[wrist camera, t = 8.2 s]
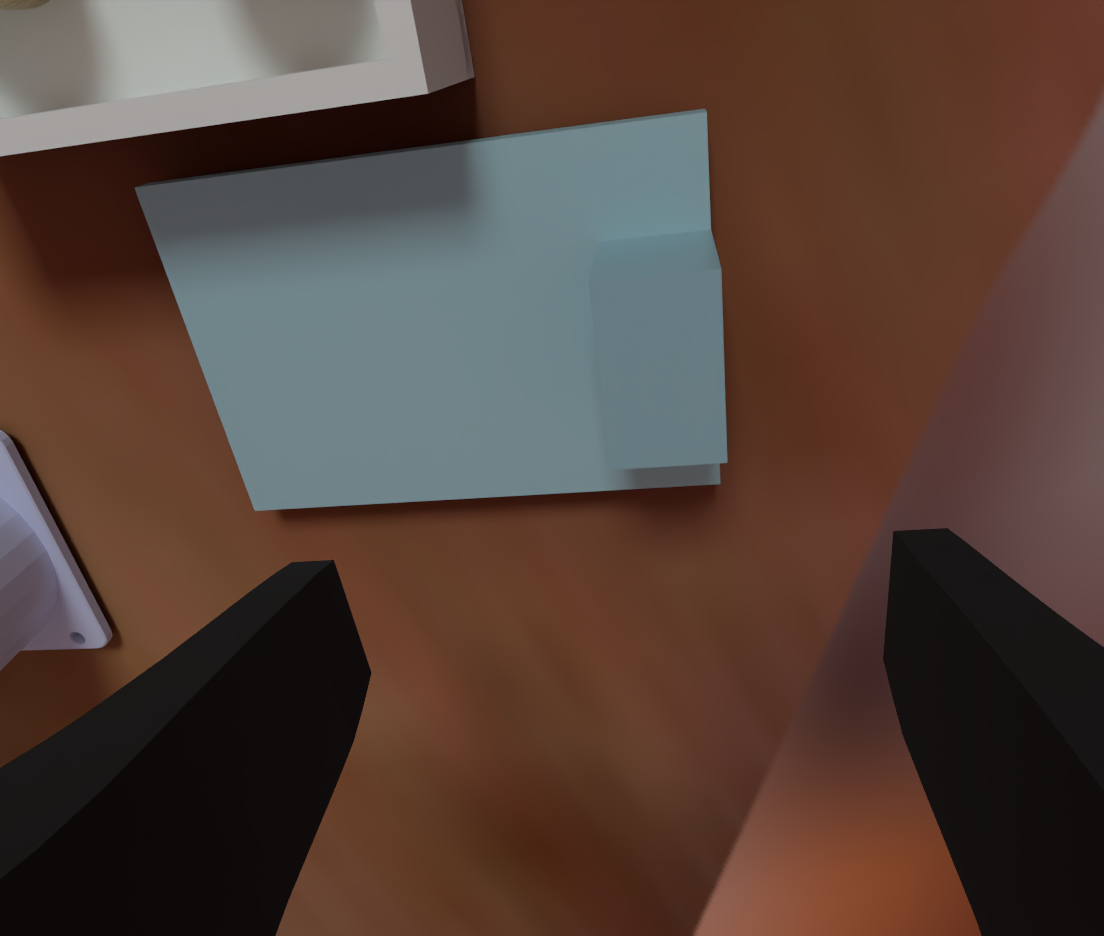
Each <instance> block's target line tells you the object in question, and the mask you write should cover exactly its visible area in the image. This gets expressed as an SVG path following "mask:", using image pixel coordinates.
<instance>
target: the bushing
mask: <svg viewBox="0 0 1104 936" xmlns="http://www.w3.org/2000/svg"><path fill="white" fill-rule="evenodd" d="M49 1H50V0H0V10H27V9H33V8H37V7H40V6H42V5H44V4H46V3H48V2H49Z"/></svg>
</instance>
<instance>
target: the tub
mask: <svg viewBox="0 0 1104 936" xmlns="http://www.w3.org/2000/svg"><path fill="white" fill-rule="evenodd" d="M473 77H475V76H474V70H473V64H472V58H471V52H470V46H469V40H468V34H467V28H466V22H465V16H464V10H463V4H462V0H50V1H49V2H48V3H46V4H44V5H42V6H40V7H37V8H33V9H27V10H0V156H6V155H12V154H19V153H26V152H33V151H40V150H47V149H53V148H60V147H67V146H74V145H81V144H88V143H94V142H101V141H108V140H115V139H122V138H129V137H135V136H142V135H149V134H156V133H163V132H170V131H177V130H183V129H190V128H197V127H204V126H211V125H218V124H224V123H231V122H238V121H245V120H252V119H259V118H265V117H272V116H279V115H286V114H293V113H300V112H307V111H313V110H320V109H327V108H334V107H341V106H348V105H354V104H361V103H368V102H375V101H382V100H389V99H395V98H402V97H409V96H416V95H423V94H429V93H432V92H434V91H437V90H440V89H443V88H446V87H448V86H451V85H454V84H457V83H459V82H462V81H465V80H468V79H470V78H473Z"/></svg>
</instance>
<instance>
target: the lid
mask: <svg viewBox="0 0 1104 936" xmlns="http://www.w3.org/2000/svg"><path fill="white" fill-rule="evenodd" d="M135 191H136V194H137V196H138V199H139V202H140V204H141V207H142V210H143V212H144V215H145V218H146V220H147V223H148V226H149V228H150V231H151V234H152V236H153V239H154V242H155V245H156V247H157V250H158V253H159V255H160V258H161V261H162V263H163V266H164V269H165V271H166V274H167V277H168V279H169V282H170V285H171V287H172V290H173V293H174V295H175V298H176V301H177V304H178V306H179V309H180V312H181V314H182V317H183V320H184V322H185V325H186V328H187V330H188V333H189V336H190V338H191V341H192V344H193V346H194V349H195V352H196V355H197V357H198V360H199V363H200V365H201V368H202V371H203V373H204V376H205V379H206V381H207V384H208V387H209V389H210V392H211V395H212V397H213V400H214V403H215V406H216V408H217V411H218V414H219V416H220V419H221V422H222V424H223V427H224V430H225V432H226V435H227V438H228V440H229V443H230V446H231V448H232V451H233V454H234V457H235V459H236V462H237V465H238V467H239V470H240V473H241V475H242V478H243V481H244V483H245V486H246V489H247V491H248V494H249V497H250V499H251V502H252V505H253V507H254V510H255V511H260V510H278V509H295V508H313V507H330V506H348V505H365V504H383V503H400V502H418V501H435V500H453V499H470V498H488V497H505V496H523V495H540V494H558V493H575V492H593V491H610V490H628V489H645V488H663V487H680V486H698V485H715V484H720V463H727V435H726V403H725V371H724V339H723V308H722V276H721V266H720V262H719V258H718V254H717V250H716V247H715V243H714V239H713V235H712V231H711V215H710V188H709V161H708V133H707V111H706V110H705V109H699V110H692V111H684V112H676V113H669V114H661V115H654V116H646V117H639V118H631V119H624V120H616V121H609V122H601V123H594V124H586V125H579V126H571V127H564V128H556V129H549V130H541V131H534V132H526V133H519V134H511V135H504V136H496V137H488V138H481V139H473V140H466V141H458V142H451V143H443V144H436V145H428V146H421V147H413V148H406V149H398V150H391V151H383V152H376V153H368V154H361V155H353V156H346V157H338V158H331V159H323V160H315V161H308V162H300V163H293V164H285V165H278V166H270V167H263V168H255V169H248V170H240V171H233V172H225V173H218V174H210V175H203V176H195V177H188V178H180V179H173V180H165V181H158V182H150V183H146V184H143V185H141V186H138V187H135Z"/></svg>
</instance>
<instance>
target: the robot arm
mask: <svg viewBox="0 0 1104 936" xmlns="http://www.w3.org/2000/svg"><path fill="white" fill-rule="evenodd" d="M111 638H112V631H111V629H110V627H109V625H108V623H107V621H106V619H105V617H104V615H103V613H102V611H101V610H100V608H99V606H98V604H97V602H96V600H95V598H94V596H93V594H92V592H91V590H90V588H89V587H88V585H87V583H86V581H85V579H84V577H83V575H82V573H81V571H80V569H79V567H78V566H77V564H76V562H75V560H74V558H73V556H72V554H71V552H70V550H69V548H68V546H67V544H66V543H65V541H64V539H63V537H62V535H61V533H60V531H59V529H58V527H57V525H56V523H55V522H54V520H53V518H52V516H51V514H50V512H49V510H48V508H47V506H46V504H45V502H44V500H43V499H42V497H41V495H40V493H39V491H38V489H37V487H36V485H35V483H34V481H33V479H32V478H31V476H30V474H29V472H28V470H27V468H26V466H25V464H24V462H23V460H22V458H21V456H20V455H19V453H18V451H17V449H16V447H15V445H14V443H13V441H12V440H11V438H10V437H9V436H8V435H7V434H6V433H4V432H3V431H1V430H0V671H1V670H2V669H3V668H4V667H5V666H6V665H7V664H8V663H9V662H10V661H11V660H12V659H13V658H14V657H15V656H16V655H17V654H18V653H19V652H20V651H24V650H58V649H93V648H102V647H104V646H105V645H106V644H107V643H108V642H109V641H110V640H111ZM883 660H884V664H885V668H886V672H887V676H888V680H889V684H890V688H891V692H892V696H893V700H894V704H895V708H896V711H897V715H898V719H899V723H900V726H901V730H902V734H903V736H904V739H905V742H906V744H907V747H908V750H909V752H910V754H911V757H912V760H913V762H914V765H915V767H916V770H917V772H918V775H919V778H920V780H921V783H922V785H923V788H924V790H925V793H926V795H927V798H928V800H929V803H930V805H931V808H932V810H933V813H934V815H935V818H936V820H937V823H938V825H939V828H940V830H941V833H942V835H943V838H944V840H945V843H946V845H947V847H948V850H949V852H950V855H951V858H952V860H953V863H954V865H955V868H956V870H957V873H958V875H959V877H960V880H961V882H962V885H963V888H964V890H965V893H966V895H967V897H968V900H969V903H970V905H971V907H972V910H973V913H974V915H975V918H976V920H977V923H978V926H979V929H980V932H981V935H982V936H1104V647H1103V646H1101V645H1099V644H1098V643H1097V642H1095V641H1094V640H1093V639H1091V638H1090V637H1089V636H1087V635H1086V634H1084V633H1083V632H1082V631H1080V630H1079V629H1077V628H1076V627H1075V626H1073V625H1072V624H1071V623H1069V622H1068V621H1067V620H1065V619H1064V618H1063V617H1061V616H1060V615H1059V614H1057V613H1056V612H1055V611H1053V610H1052V609H1051V608H1049V607H1048V606H1047V605H1045V604H1044V603H1043V602H1041V601H1040V600H1039V599H1038V598H1036V597H1035V596H1034V595H1032V594H1031V593H1030V592H1028V591H1027V590H1026V589H1025V588H1023V587H1022V586H1021V585H1020V584H1018V583H1017V582H1016V581H1014V580H1013V579H1012V578H1011V577H1009V576H1008V575H1007V574H1005V573H1004V572H1003V571H1002V570H1000V569H999V568H998V567H997V566H995V565H994V564H993V563H992V562H990V561H989V560H988V559H986V558H985V557H984V556H982V555H981V554H980V553H979V552H978V551H976V550H975V549H973V547H971V546H970V545H969V544H968V543H966V542H965V541H963V540H962V539H961V538H960V537H958V536H957V535H956V534H954V533H953V532H952V531H950V530H949V529H947V528H943V529H924V530H906V531H894V533H893V544H892V556H891V569H890V581H889V593H888V607H887V619H886V631H885V643H884V656H883ZM370 676H371V670H370V667H369V664H368V661H367V658H366V655H365V652H364V649H363V646H362V643H361V640H360V637H359V634H358V631H357V628H356V625H355V622H354V619H353V616H352V613H351V610H350V607H349V604H348V601H347V598H346V595H345V592H344V589H343V586H342V583H341V580H340V577H339V574H338V571H337V568H336V565H335V562H334V560H326V561H307V562H292V563H290V564H289V565H287V566H286V567H284V568H283V569H281V570H279V571H278V572H277V573H275V574H274V575H272V576H271V577H269V578H268V579H267V580H265V581H264V582H263V583H261V584H260V585H258V586H257V587H256V588H254V589H253V590H252V591H250V592H249V593H248V594H246V595H245V596H244V597H243V598H241V599H240V600H239V601H237V602H236V603H235V604H233V605H232V606H231V607H229V608H228V609H227V610H226V611H224V612H223V613H222V614H220V615H219V616H218V617H217V618H215V619H214V620H213V621H211V622H210V623H209V624H207V625H206V626H205V627H203V628H202V629H201V630H200V631H198V632H197V633H196V634H194V635H193V636H192V637H190V638H189V639H188V640H186V641H185V642H184V643H182V644H181V645H180V646H179V647H177V648H176V649H175V650H173V651H172V652H171V653H169V654H168V655H167V656H165V657H164V658H163V659H161V660H160V661H159V662H157V663H156V664H155V665H153V666H152V667H150V668H149V669H148V670H146V671H145V672H143V673H142V674H141V675H139V676H138V677H136V678H135V679H134V680H132V681H131V682H129V683H128V684H127V685H125V686H124V687H122V688H121V689H120V690H118V691H117V692H115V693H114V694H113V695H111V696H110V697H108V698H107V699H106V700H104V701H103V702H101V703H100V704H99V705H97V706H96V707H94V708H93V709H92V710H90V711H89V712H87V713H86V714H84V715H83V716H81V717H80V718H78V719H77V720H75V721H74V722H72V723H71V724H70V725H68V726H67V727H65V728H63V729H62V730H60V731H59V732H57V733H56V734H54V735H53V736H51V737H50V738H48V739H46V740H45V741H43V742H42V743H40V744H39V745H37V746H35V747H34V748H32V749H30V750H29V751H27V752H26V753H24V754H22V755H21V756H19V757H17V758H16V759H14V760H13V761H11V762H9V763H8V764H6V765H4V766H3V767H1V768H0V936H275V935H276V932H277V930H278V927H279V924H280V922H281V919H282V916H283V913H284V911H285V908H286V905H287V903H288V900H289V898H290V895H291V893H292V890H293V888H294V885H295V883H296V881H297V878H298V876H299V873H300V871H301V869H302V866H303V864H304V861H305V859H306V857H307V854H308V852H309V849H310V847H311V845H312V842H313V840H314V837H315V835H316V833H317V830H318V828H319V825H320V823H321V821H322V818H323V816H324V813H325V811H326V809H327V806H328V804H329V801H330V799H331V797H332V794H333V792H334V789H335V787H336V784H337V782H338V779H339V777H340V774H341V772H342V769H343V767H344V764H345V762H346V759H347V757H348V754H349V752H350V749H351V747H352V744H353V742H354V738H355V735H356V731H357V727H358V724H359V720H360V717H361V713H362V709H363V705H364V701H365V697H366V693H367V689H368V685H369V681H370Z"/></svg>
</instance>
